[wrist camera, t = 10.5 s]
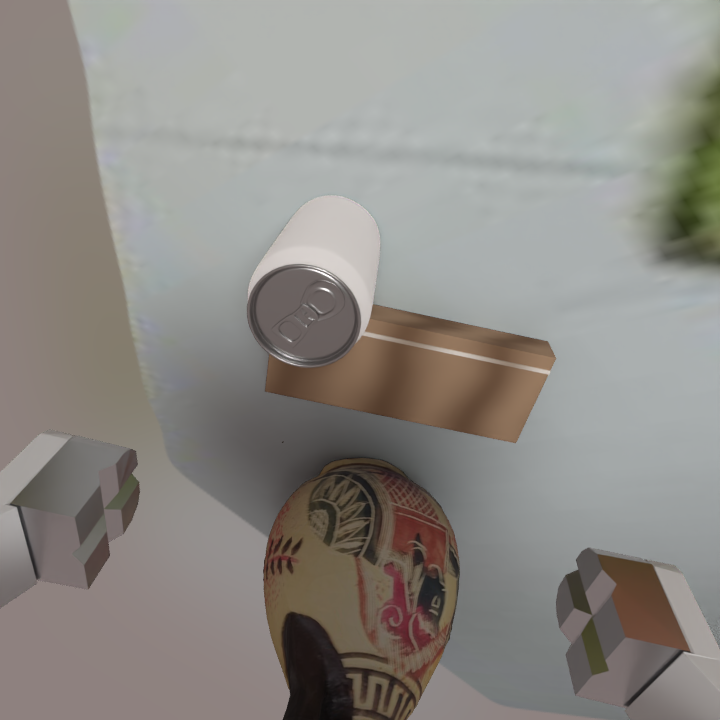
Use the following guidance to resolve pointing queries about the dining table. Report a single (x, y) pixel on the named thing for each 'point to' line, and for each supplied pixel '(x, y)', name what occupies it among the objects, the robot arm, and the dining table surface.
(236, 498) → the dining table surface
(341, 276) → the can
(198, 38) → the dining table surface
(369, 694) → the ceramic jug
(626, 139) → the dining table surface
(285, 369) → the plank
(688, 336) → the dining table surface
